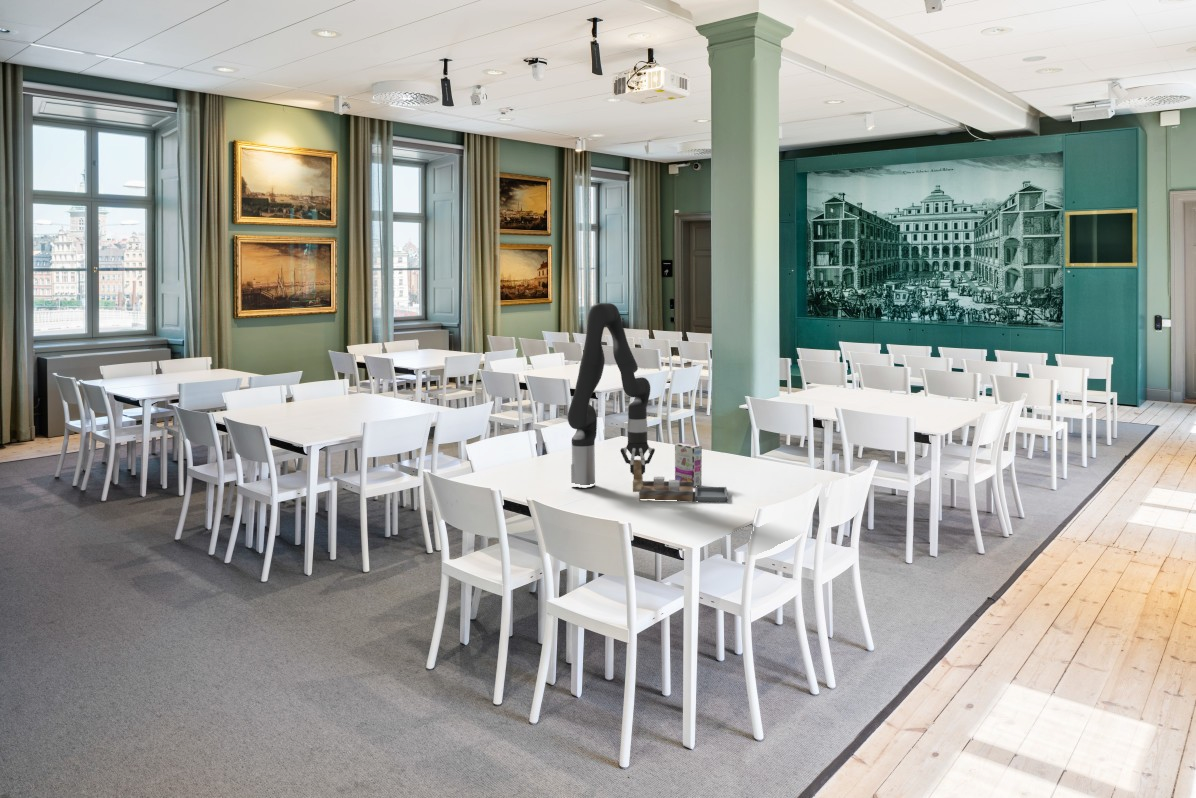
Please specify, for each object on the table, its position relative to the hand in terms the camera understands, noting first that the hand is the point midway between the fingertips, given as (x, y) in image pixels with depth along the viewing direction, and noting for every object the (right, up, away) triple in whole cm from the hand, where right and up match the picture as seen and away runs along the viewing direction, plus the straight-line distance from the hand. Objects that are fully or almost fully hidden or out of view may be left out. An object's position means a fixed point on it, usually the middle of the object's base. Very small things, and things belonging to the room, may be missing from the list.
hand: (637, 473), depth 347 cm
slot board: (+11, -9, 0) cm, 14 cm away
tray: (+28, -9, -2) cm, 29 cm away
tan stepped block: (0, -6, +1) cm, 6 cm away
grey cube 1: (+8, -6, +3) cm, 11 cm away
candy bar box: (+21, -6, +19) cm, 29 cm away
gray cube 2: (+14, -6, -3) cm, 15 cm away
